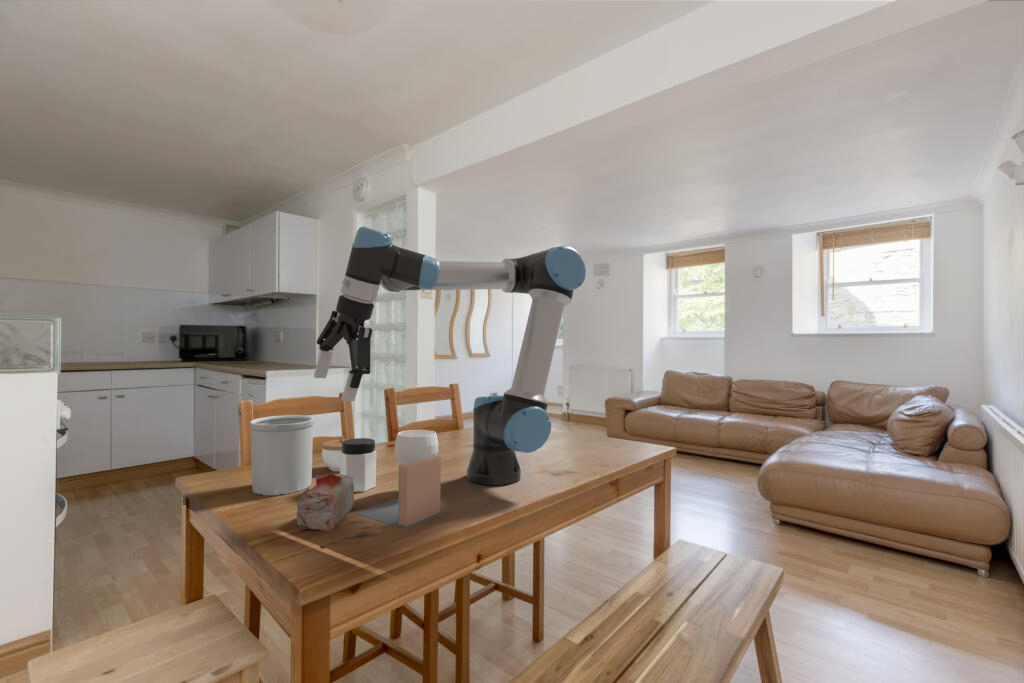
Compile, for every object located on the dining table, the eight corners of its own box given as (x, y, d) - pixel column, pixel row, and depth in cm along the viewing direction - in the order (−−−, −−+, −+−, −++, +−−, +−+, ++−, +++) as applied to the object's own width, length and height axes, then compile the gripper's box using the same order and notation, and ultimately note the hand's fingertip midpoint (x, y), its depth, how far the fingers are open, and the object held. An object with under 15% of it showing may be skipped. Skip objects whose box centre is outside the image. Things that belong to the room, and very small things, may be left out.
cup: (413, 503, 110) (414, 439, 110) (385, 494, 116) (386, 433, 116) (446, 492, 118) (447, 432, 118) (418, 484, 124) (418, 427, 125)
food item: (334, 536, 91) (335, 484, 91) (293, 535, 91) (293, 484, 91) (357, 511, 104) (357, 466, 105) (321, 510, 104) (321, 466, 104)
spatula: (380, 532, 93) (380, 527, 93) (382, 539, 89) (382, 533, 89) (320, 541, 88) (320, 536, 88) (320, 549, 85) (320, 543, 85)
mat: (448, 514, 102) (448, 512, 102) (407, 532, 92) (408, 529, 92) (396, 500, 111) (396, 498, 111) (354, 516, 101) (354, 513, 101)
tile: (440, 512, 102) (440, 457, 102) (406, 526, 94) (407, 466, 94) (431, 510, 104) (432, 455, 104) (398, 524, 95) (398, 464, 95)
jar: (380, 488, 120) (380, 442, 120) (348, 495, 115) (349, 446, 115) (366, 480, 127) (367, 436, 127) (336, 486, 122) (336, 440, 122)
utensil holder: (284, 499, 111) (285, 425, 112) (234, 493, 115) (235, 422, 116) (325, 482, 126) (326, 416, 126) (279, 477, 130) (280, 413, 130)
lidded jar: (316, 473, 133) (316, 440, 134) (327, 464, 144) (328, 433, 144) (354, 473, 134) (355, 440, 134) (363, 463, 145) (363, 433, 145)
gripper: (316, 281, 108) (294, 368, 111) (372, 311, 92) (344, 411, 95) (345, 287, 114) (324, 369, 117) (403, 317, 98) (376, 410, 101)
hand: (333, 388), depth 106 cm, fingers open, 13 cm apart
